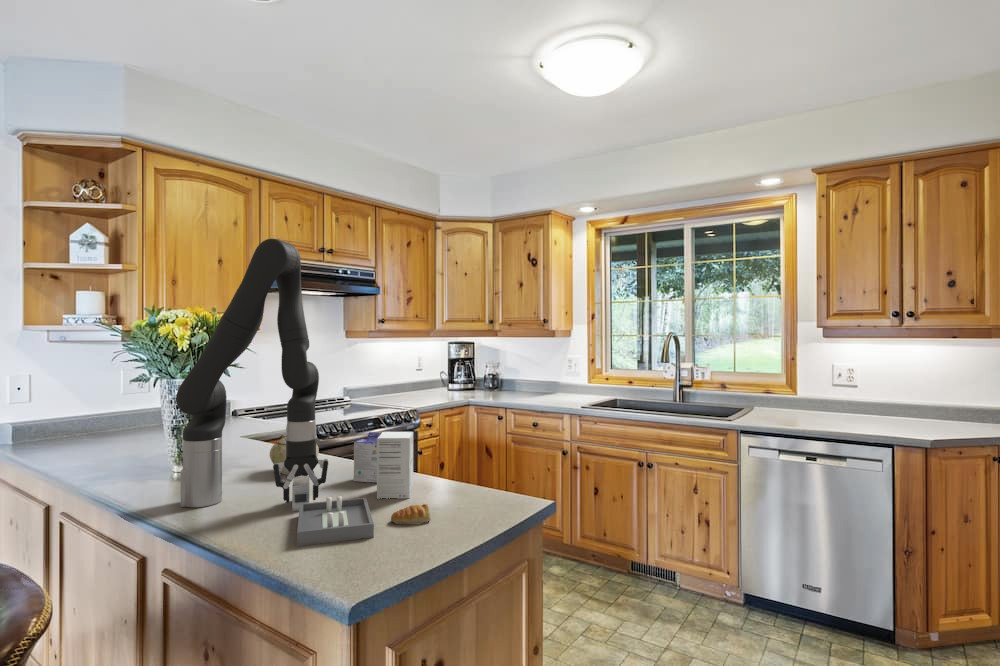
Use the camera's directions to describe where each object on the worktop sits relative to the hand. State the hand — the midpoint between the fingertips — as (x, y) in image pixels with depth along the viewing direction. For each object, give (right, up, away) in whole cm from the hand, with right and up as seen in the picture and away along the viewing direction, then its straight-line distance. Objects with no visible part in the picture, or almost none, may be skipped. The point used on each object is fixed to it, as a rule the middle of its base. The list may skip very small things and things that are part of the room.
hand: (301, 500), depth 143 cm
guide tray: (+14, -1, -15) cm, 21 cm away
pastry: (+32, -2, -12) cm, 34 cm away
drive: (0, -1, 0) cm, 1 cm away
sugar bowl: (-14, -1, +33) cm, 36 cm away
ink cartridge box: (+13, -1, +23) cm, 27 cm away
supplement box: (+23, -1, +10) cm, 25 cm away
